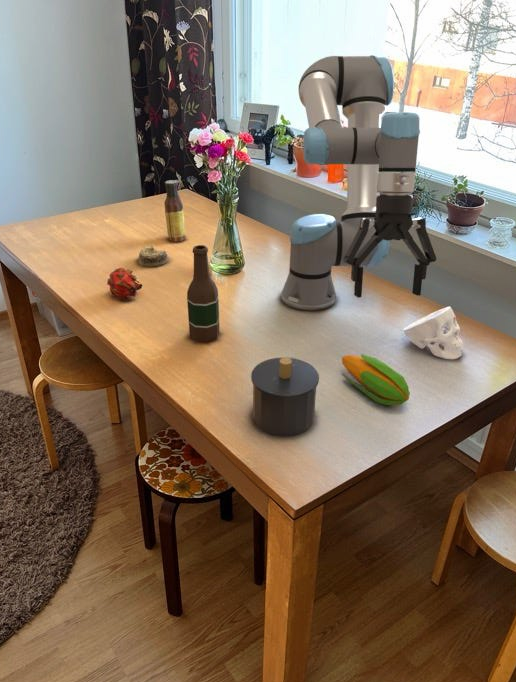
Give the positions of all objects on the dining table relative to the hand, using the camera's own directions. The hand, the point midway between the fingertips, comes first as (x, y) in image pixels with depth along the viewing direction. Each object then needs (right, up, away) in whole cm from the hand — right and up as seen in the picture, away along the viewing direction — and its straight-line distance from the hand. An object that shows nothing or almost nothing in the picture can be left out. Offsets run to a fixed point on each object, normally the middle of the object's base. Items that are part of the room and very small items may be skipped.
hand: (387, 295), depth 129 cm
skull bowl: (+15, -10, +18) cm, 26 cm away
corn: (-3, -21, +2) cm, 21 cm away
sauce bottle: (-57, +31, +76) cm, 100 cm away
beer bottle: (-42, -7, +22) cm, 48 cm away
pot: (-23, -26, -6) cm, 36 cm away
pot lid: (-23, -18, -12) cm, 32 cm away
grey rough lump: (-62, +20, +61) cm, 89 cm away
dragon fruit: (-67, +6, +40) cm, 78 cm away
